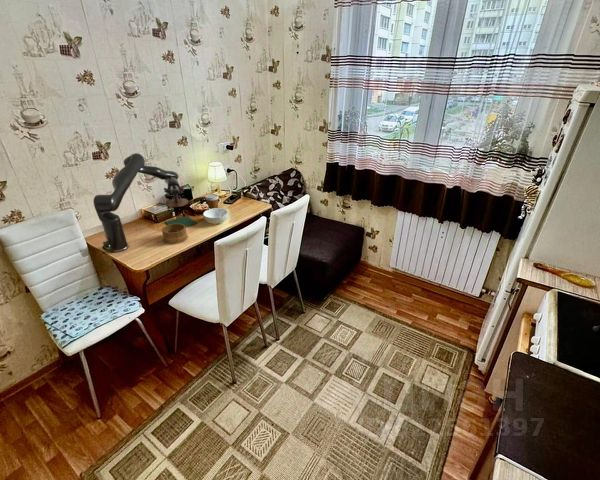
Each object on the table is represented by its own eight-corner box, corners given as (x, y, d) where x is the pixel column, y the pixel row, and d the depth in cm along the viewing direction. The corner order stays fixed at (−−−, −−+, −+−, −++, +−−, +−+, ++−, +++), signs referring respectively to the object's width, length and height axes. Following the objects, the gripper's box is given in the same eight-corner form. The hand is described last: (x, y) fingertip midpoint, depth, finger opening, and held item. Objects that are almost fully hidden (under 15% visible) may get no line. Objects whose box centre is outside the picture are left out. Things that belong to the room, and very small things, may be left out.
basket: (164, 245, 185) (162, 234, 181) (163, 236, 195) (161, 225, 192) (188, 241, 190) (186, 230, 186) (185, 232, 200) (184, 222, 197)
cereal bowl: (200, 221, 216) (198, 211, 213) (221, 215, 226) (220, 206, 223) (211, 229, 205) (210, 219, 202) (233, 222, 215) (232, 213, 212)
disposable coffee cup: (220, 212, 229) (218, 197, 224) (206, 213, 228) (204, 198, 222) (220, 208, 238) (218, 193, 232) (207, 208, 236) (205, 194, 230)
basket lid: (166, 209, 197) (163, 194, 192) (165, 201, 208) (162, 187, 203) (190, 206, 202) (187, 191, 197) (187, 198, 214) (185, 184, 209)
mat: (174, 230, 203) (174, 229, 202) (165, 222, 213) (164, 221, 213) (196, 223, 212) (196, 223, 212) (186, 216, 222) (186, 215, 222)
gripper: (161, 181, 208) (162, 189, 194) (183, 179, 213) (185, 186, 200) (163, 191, 212) (165, 200, 198) (184, 189, 217) (187, 197, 203)
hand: (175, 193), depth 199 cm, fingers closed on basket lid, 2 cm apart
